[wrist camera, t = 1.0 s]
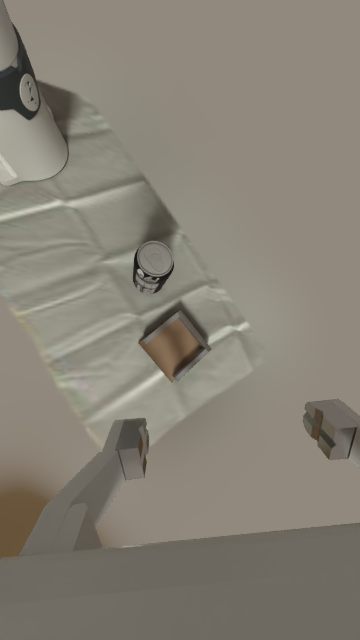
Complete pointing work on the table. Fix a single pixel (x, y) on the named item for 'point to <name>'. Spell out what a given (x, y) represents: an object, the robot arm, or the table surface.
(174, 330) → the brown flat square tray
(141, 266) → the beverage can
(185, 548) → the robot arm
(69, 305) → the table surface
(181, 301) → the table surface
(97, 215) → the table surface
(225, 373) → the table surface
